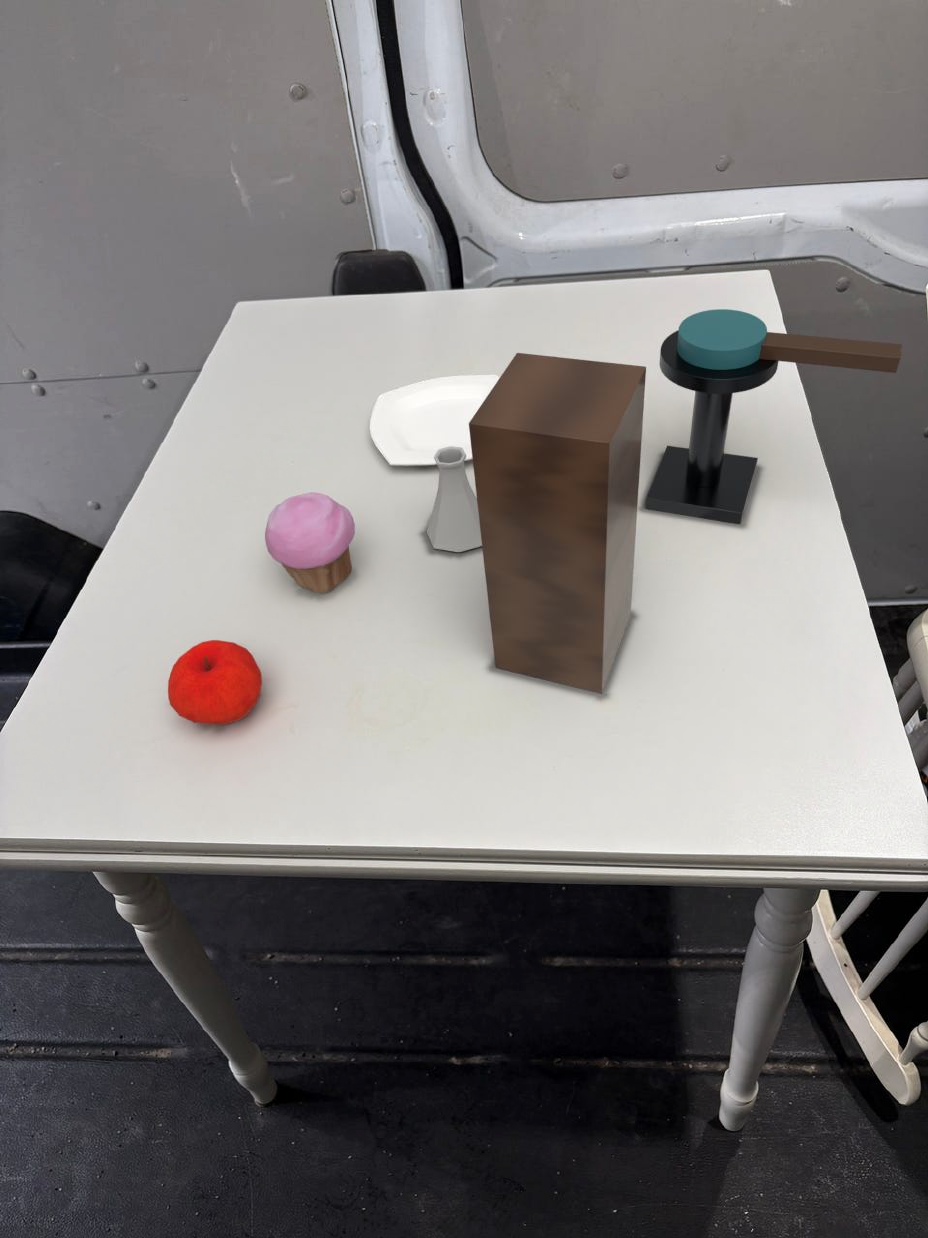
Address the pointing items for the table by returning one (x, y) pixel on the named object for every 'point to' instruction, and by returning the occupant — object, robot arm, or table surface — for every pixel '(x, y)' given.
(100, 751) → the table surface
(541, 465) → the pedestal
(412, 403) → the plate
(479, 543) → the flask
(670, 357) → the display stand
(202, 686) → the apple
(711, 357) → the disc paddle
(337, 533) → the cupcake
